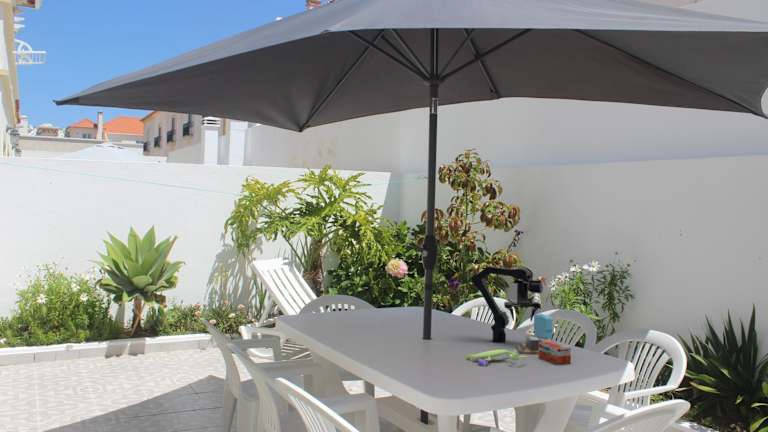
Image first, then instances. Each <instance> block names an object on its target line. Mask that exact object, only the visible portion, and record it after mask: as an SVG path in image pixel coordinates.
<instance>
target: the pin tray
mask: <svg viewBox="0 0 768 432" xmlns="http://www.w3.org/2000/svg"><path fill="white" fill-rule="evenodd" d="M544 341H545V340H542V342H544ZM515 348H516V349H517V351H518V353H519V355H539V351H532V350H529V349H528V348H527V347H526V342H525V340H520V344H516V347H515Z"/></svg>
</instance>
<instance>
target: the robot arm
mask: <svg viewBox="0 0 768 432" xmlns="http://www.w3.org/2000/svg"><path fill="white" fill-rule="evenodd" d="M491 274H492V275H499V276H506V277H511V278H513V279H515V280H514V281H513V284H516V302H515V303H513V302H512V301H504V303H503V306H504V308H505V309H506V310H508V311H509V313H510V314H511V319H512V321H513V322H515V316H514V307H515V308H518V307H519V308H520V309H521V308H523V309H524V308H525V309H528V308H531V309H530V319H529V320H530V322H533V320H534V315H535V313H536V311H538V310H539V309H542V305H541V303H540V302H539V301H533V298H532V297H530V298H529V292H530V293H534V294H543V292H544V291H543V290H544V286H543V283H542V282H543V281H542V280H541V279H539V280H536V279H533V278H532V276H531V275H530V271H529V270H528V269H527V267H522V268H521V267H520V268H507V267H500V266H499V267H498V266H492V265H487V266H485V268H484V269H482V270H481V271H480V272H478V273H476V274H474V275H472V277H471V279H470V281H471V284H473V286H474V287H475V288H476V289H477V290H478V291H479V292H480V293H481V295H482V297H483V300H485V302H486V305H487V306H488V308H489V310H490V311H491V313H492V316H493V317H492V318H493V322H494V324H493V325H491V326H490V329H491V331H492V339H491V341H492V343H505V342H506V340H507V338H506V337H507V336H506V335H507V334H506V331H505V330H506V328H507V326H509V324H510V317H508V315H507V312H506V311H502V310H501V309H500V307H499V305H498V304H497V302H496V301H495V299H494V297H493V295H492V293H491V291H490V290H489V288H488V283H487V278H488V277H489V276H490V275H491Z"/></svg>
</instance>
